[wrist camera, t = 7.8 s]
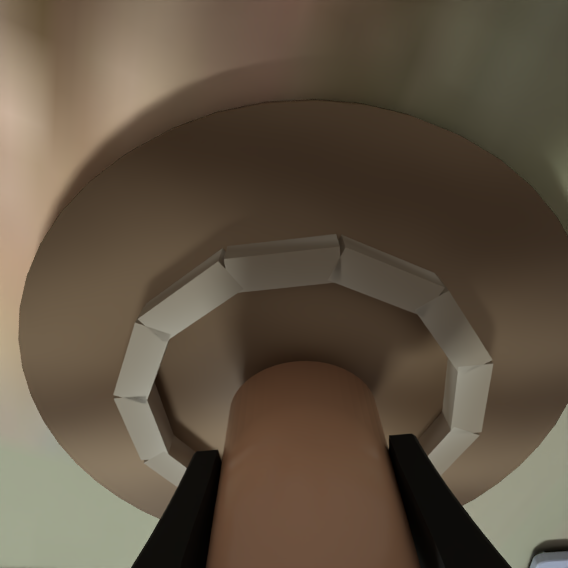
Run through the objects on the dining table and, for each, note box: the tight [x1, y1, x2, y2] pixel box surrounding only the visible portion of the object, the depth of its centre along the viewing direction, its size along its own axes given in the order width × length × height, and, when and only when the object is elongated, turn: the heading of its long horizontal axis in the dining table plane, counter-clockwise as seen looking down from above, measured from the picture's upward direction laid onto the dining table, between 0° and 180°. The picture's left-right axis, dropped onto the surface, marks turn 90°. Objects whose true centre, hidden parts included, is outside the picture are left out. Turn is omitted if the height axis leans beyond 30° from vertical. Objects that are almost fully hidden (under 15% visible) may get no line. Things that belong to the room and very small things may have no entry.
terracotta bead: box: [206, 361, 421, 568], centre depth 10 cm, size 5×5×6 cm
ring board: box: [19, 99, 568, 519], centre depth 13 cm, size 18×18×2 cm
